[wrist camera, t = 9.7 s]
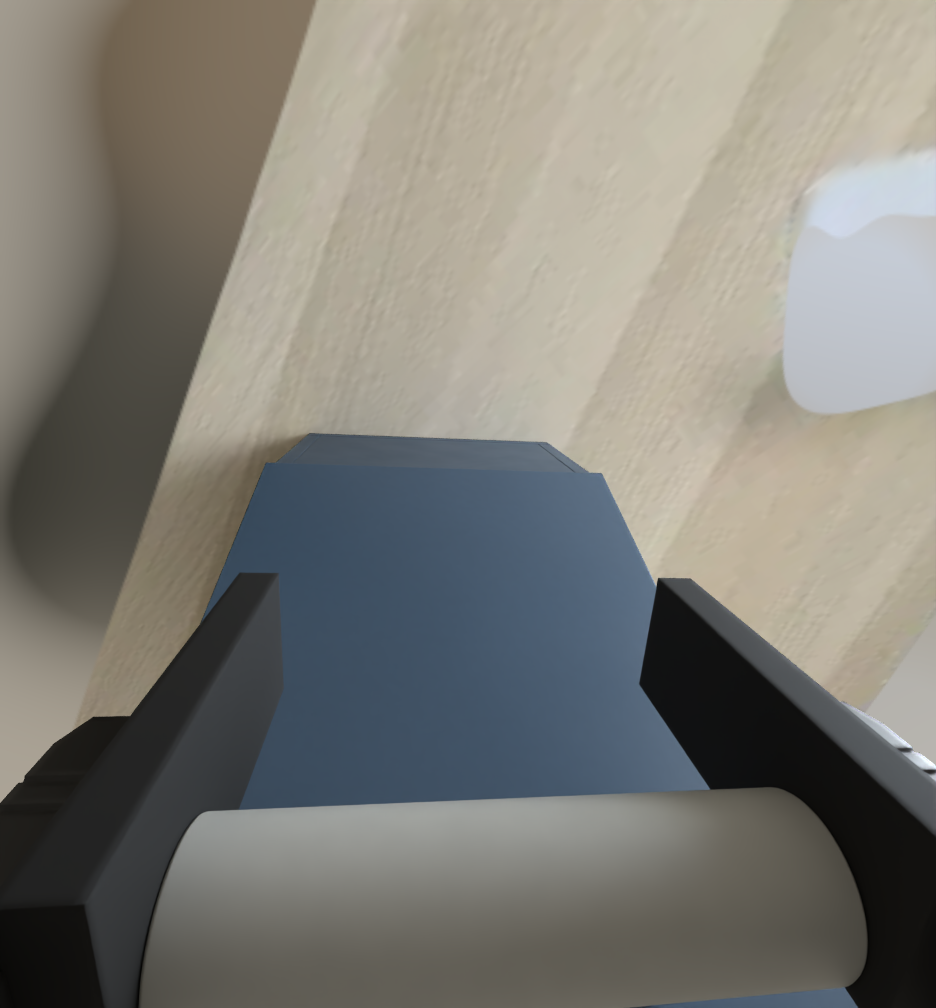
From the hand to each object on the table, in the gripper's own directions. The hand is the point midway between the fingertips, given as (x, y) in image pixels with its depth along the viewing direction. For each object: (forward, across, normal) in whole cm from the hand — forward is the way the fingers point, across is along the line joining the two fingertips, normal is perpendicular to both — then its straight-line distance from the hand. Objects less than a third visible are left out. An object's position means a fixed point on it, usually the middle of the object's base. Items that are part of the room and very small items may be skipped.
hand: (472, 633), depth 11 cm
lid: (+5, 0, -4) cm, 6 cm away
